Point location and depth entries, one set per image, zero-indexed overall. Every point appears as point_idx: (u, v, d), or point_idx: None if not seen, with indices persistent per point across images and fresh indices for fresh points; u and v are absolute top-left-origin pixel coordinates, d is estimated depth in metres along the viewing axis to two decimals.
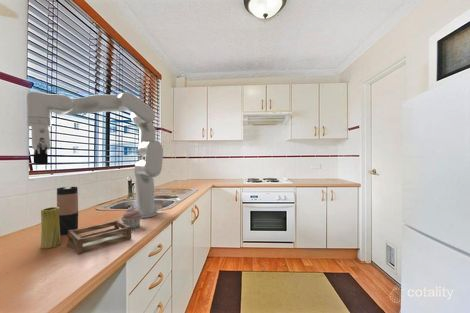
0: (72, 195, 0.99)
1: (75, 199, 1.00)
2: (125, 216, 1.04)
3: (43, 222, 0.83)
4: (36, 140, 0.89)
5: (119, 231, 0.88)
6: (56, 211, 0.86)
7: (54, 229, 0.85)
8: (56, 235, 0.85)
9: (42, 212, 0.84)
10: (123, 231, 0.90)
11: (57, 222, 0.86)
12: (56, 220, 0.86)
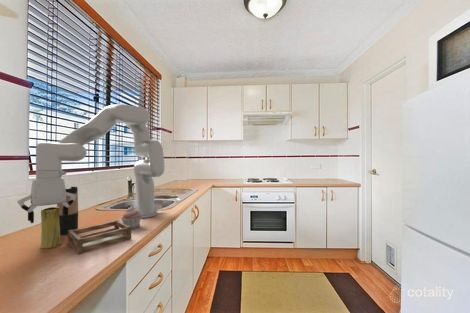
0: None
1: (75, 199, 1.00)
2: (125, 216, 1.04)
3: (43, 222, 0.83)
4: (65, 194, 0.88)
5: (119, 231, 0.88)
6: (56, 211, 0.86)
7: (54, 229, 0.85)
8: (56, 235, 0.85)
9: (42, 212, 0.84)
10: (123, 231, 0.90)
11: (57, 222, 0.86)
12: (56, 220, 0.86)
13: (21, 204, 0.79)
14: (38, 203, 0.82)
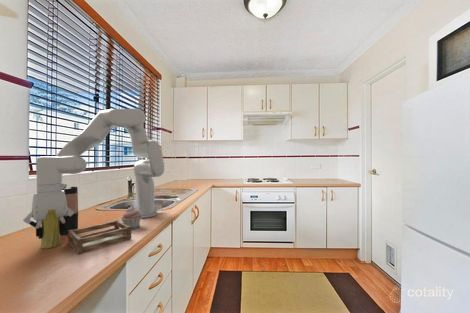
0: (72, 195, 0.99)
1: (75, 199, 1.00)
2: (125, 216, 1.04)
3: (43, 222, 0.83)
4: (66, 206, 0.88)
5: (119, 231, 0.88)
6: None
7: (54, 229, 0.85)
8: (56, 235, 0.85)
9: None
10: (123, 231, 0.90)
11: (57, 222, 0.86)
12: (56, 220, 0.86)
13: (28, 222, 0.81)
14: (39, 217, 0.82)
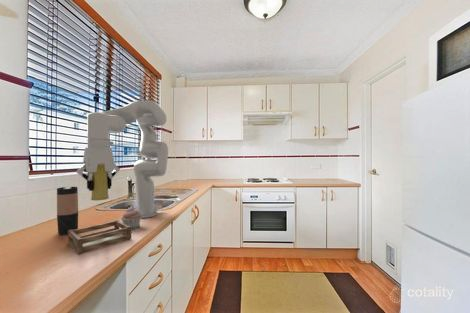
0: (72, 195, 0.99)
1: (75, 199, 1.00)
2: (125, 216, 1.04)
3: (94, 175, 0.87)
4: (113, 163, 0.92)
5: (119, 231, 0.88)
6: None
7: (104, 183, 0.88)
8: (105, 188, 0.89)
9: None
10: (123, 231, 0.90)
11: (106, 176, 0.90)
12: (105, 174, 0.89)
13: (81, 173, 0.84)
14: (91, 170, 0.86)
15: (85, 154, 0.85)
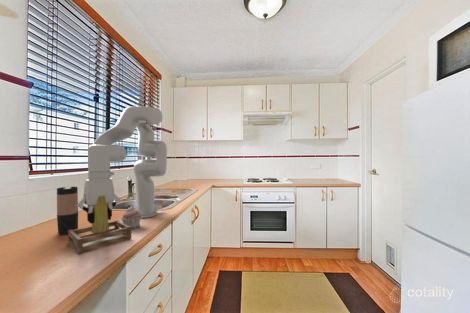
0: (72, 195, 0.99)
1: (75, 199, 1.00)
2: (125, 216, 1.04)
3: (94, 207, 0.87)
4: None
5: (119, 231, 0.88)
6: None
7: (104, 214, 0.88)
8: (105, 220, 0.89)
9: None
10: (123, 231, 0.90)
11: (106, 208, 0.90)
12: (105, 206, 0.89)
13: (81, 207, 0.84)
14: (92, 203, 0.86)
15: (86, 187, 0.86)
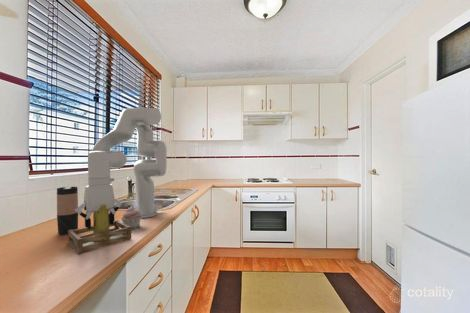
0: (72, 195, 0.99)
1: (75, 199, 1.00)
2: (125, 216, 1.04)
3: (95, 216, 0.87)
4: (114, 199, 0.92)
5: (119, 231, 0.88)
6: None
7: (105, 223, 0.89)
8: (107, 229, 0.89)
9: None
10: (123, 231, 0.90)
11: (107, 216, 0.90)
12: (106, 214, 0.90)
13: (79, 212, 0.84)
14: (92, 209, 0.86)
15: (86, 193, 0.86)
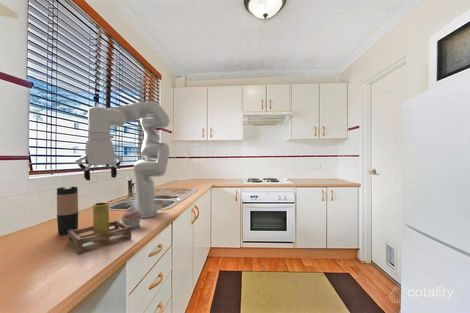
0: (72, 195, 0.99)
1: (75, 199, 1.00)
2: (125, 216, 1.04)
3: (95, 216, 0.87)
4: (114, 155, 0.96)
5: (119, 231, 0.88)
6: (107, 206, 0.90)
7: (105, 223, 0.89)
8: (107, 229, 0.89)
9: (94, 207, 0.88)
10: (123, 231, 0.90)
11: (107, 217, 0.90)
12: (106, 214, 0.90)
13: (79, 163, 0.87)
14: (93, 162, 0.89)
15: (87, 147, 0.89)
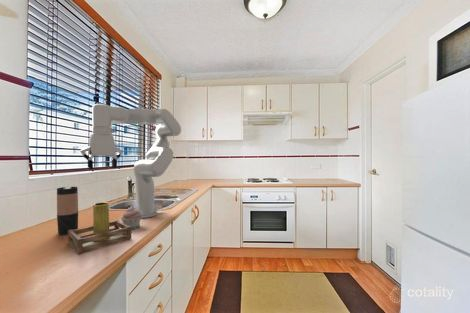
0: (72, 195, 0.99)
1: (75, 199, 1.00)
2: (125, 216, 1.04)
3: (95, 216, 0.87)
4: (115, 148, 1.06)
5: (119, 231, 0.88)
6: (107, 206, 0.90)
7: (105, 223, 0.89)
8: (107, 229, 0.89)
9: (94, 207, 0.88)
10: (123, 231, 0.90)
11: (107, 217, 0.90)
12: (106, 214, 0.90)
13: (83, 153, 0.98)
14: (96, 153, 1.00)
15: (90, 139, 1.00)
